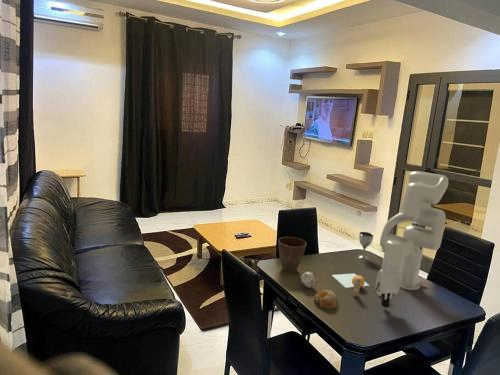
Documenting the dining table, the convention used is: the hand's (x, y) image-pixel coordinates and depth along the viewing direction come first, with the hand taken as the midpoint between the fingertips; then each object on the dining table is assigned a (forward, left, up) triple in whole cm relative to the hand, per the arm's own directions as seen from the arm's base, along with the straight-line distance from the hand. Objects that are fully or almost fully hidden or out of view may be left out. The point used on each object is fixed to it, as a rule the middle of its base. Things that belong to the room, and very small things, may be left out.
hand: (384, 306), depth 166 cm
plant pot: (+27, -45, -2) cm, 53 cm away
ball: (0, -21, +2) cm, 21 cm away
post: (+7, -13, -2) cm, 15 cm away
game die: (+26, -25, -2) cm, 36 cm away
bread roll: (+25, -9, -2) cm, 26 cm away
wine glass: (-26, -55, -2) cm, 61 cm away
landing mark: (0, -28, -2) cm, 28 cm away
